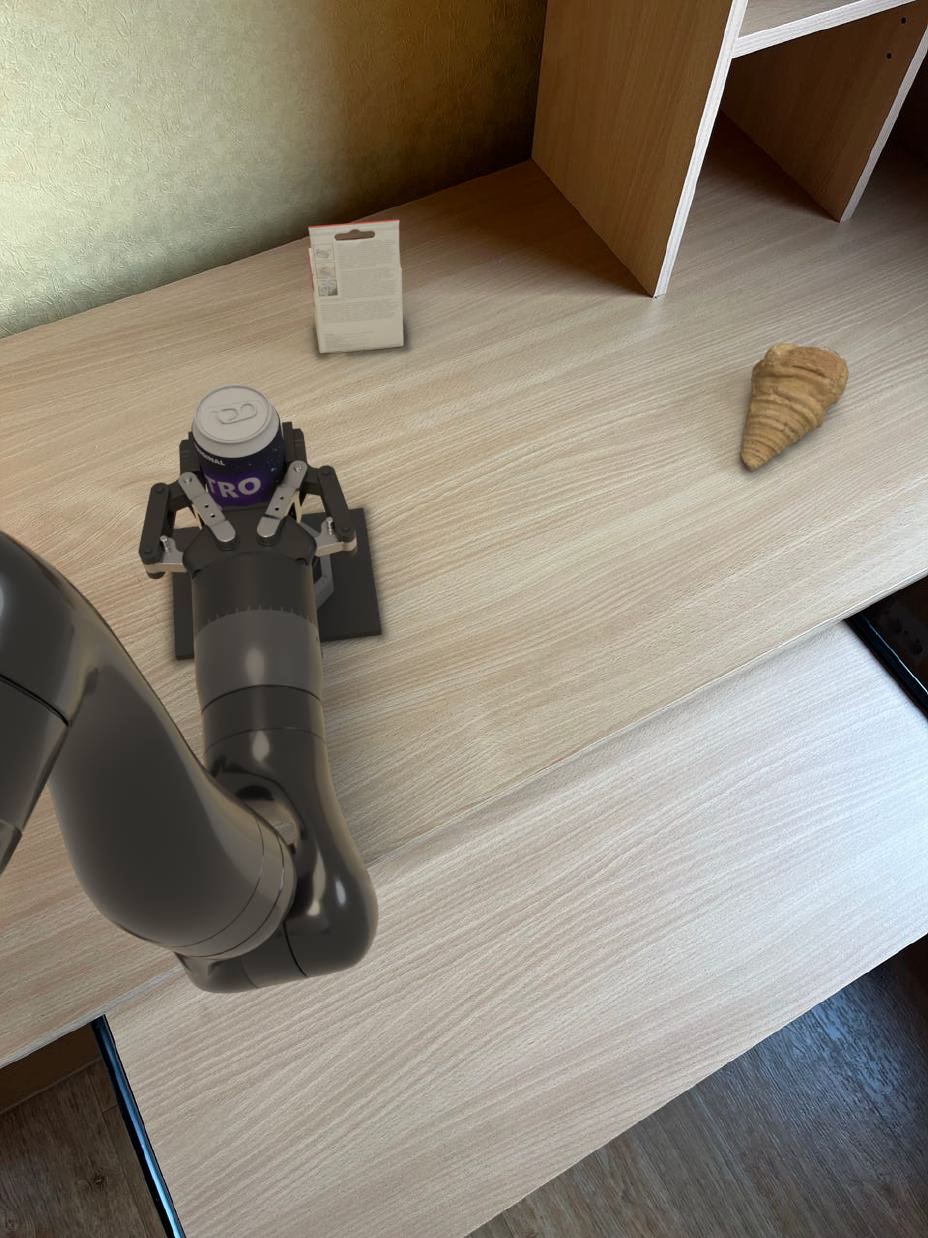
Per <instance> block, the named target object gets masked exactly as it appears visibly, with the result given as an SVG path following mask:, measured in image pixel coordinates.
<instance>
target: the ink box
mask: <svg viewBox="0 0 928 1238" xmlns="http://www.w3.org/2000/svg"><path fill="white" fill-rule="evenodd" d="M307 229H308V234H309V240H310V247H308V252H307V253H308V263H309V264H308V265H309V275H310V282H311V294H312V302H313V311H314V321H315V330H316V338H317V344H318V351H319V354H322V355H323V354H339V353H349V352H350V353H351V352H359V351H361V352H362V351H372V350H382V349H392V348H397V347H398V348H399V347H400V348H401V347H404V342H405V341H404V313H403V311H404V305H403V303H404V301H403V267H402V262H401V253H400V252H401V251H400V219H388V220H387V219H386V220H374V221H362V222H350V223H349V222H348V223H335V224H324V225H312V226H311V225H310V226H308V227H307ZM353 230H357V231H358V232H360V233H363V232H364V233H365V232H373V233H374V234H373V235H369V236H360V237H346V238H335V236H336V235H339V234H341V235H342V234H349V233H350V232H351V231H353Z"/></svg>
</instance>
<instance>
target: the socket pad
mask: <svg viewBox="0 0 928 1238" xmlns="http://www.w3.org/2000/svg"><path fill="white" fill-rule="evenodd" d="M348 509H349V511H350V514H351V517H352V520H353V523H354V525H355V531H356V542H357V553H356V554H355V555H354V556H352V557H343V556H342V555H341V554H340V553H339V552H335V553H331V554H327V555H324V556H320V557H318V560H317V563H316V564H315V566H314V569H313V583H314V593H315V602H316V611H317V620H318V630H319V639H320V643H325V642H332V641H340V640H348V639H356V638H357V639H358V638H365V637H373V636H380V635H382V625H381V618H380V612H379V606H378V598H377V591H376V585H375V578H374V570H373V565H372V564H373V563H372V556H371V551H370V550H371V549H370V543H369V538H368V537H369V536H368V530H367V522H366V517H365V516H366V515H365V509H364V507H357V508H348ZM326 518H327V515H326V512H325V511H322V512H313V513H305V514H303V513H302V516H301V520H300V523H299V524H300V525H301V526H302V527H303V528H304V529H305V530H307V531H308V532H309V533H310V534H311V535H312V536H313V537H314V538H315V537H317V536H319V535H320V533H321V524H322V523H323V522H324V521H325V520H326ZM199 531H200V528H199V525H197V526H189V527H180V528H174V529H173V535H172V539H173V540H174V541H175V543H176V546H177V549H178V551H180V552H184V551H185V549H186V548H187V546H188V545H189V544H190V543H191V541H192V540H193V539H194V538H195V536H196V535H197V534H198V532H199ZM171 575H172V576H171V578H172V579H171V580H172V603H173V607H172V608H173V626H174V627H173V631H174V656H175V658H176V660H177V661H182V660H189V659H190V660H191V659H195V657H194V632H193V606H192V582H191V580H190V578H189V577H188V576H187V574H186V572H171Z"/></svg>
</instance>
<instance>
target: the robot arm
mask: <svg viewBox="0 0 928 1238" xmlns="http://www.w3.org/2000/svg"><path fill="white" fill-rule="evenodd" d="M281 428H282V434H283V440H284V446H285V461H286V467H287V472H286V474H285V477H284V479H283V481H282V483H281V484H278V486H277V488H276V490H275V492H274V495H273V497H272V499H271V501H269V502H259V503H255V504H252V505H249V506H235V505H232V506H223V507H221V508H222V510H220V509H219V507H218V506H217V504H216V503H215V501H214V500H213V498H212V497H211V495H210V494H209V492H208V491H207V486H206V482H205V479H204V475H203V472H202V468H201V465H200V461H199V458H198V454H197V451H196V447H195V444H194V440H193V437H192V430H190V431H187V437H188V439H187V438H186V439H181V441H180V443H179V444H178V453H179V455H178V457H179V476H178V478H176V480H175V481H173V482H171V483H165V482H161V481H159V482H156V483H153V485H152V486H151V487H150V491H149V495H148V501H147V505H146V511H145V516H144V521H143V526H142V530H141V535H140V540H139V546H138V552H137V553H138V556H139V558H140V560H141V564H142V565H143V566H142V567H143V568H144V571H145V572H146V575H147V577H148V578H150V579H151V580H159V579H162V578H163V577H164V576H165V575H166V573H172V572H186V574H187V576H188V577H189V578H190V580H191V582H192V606H193V632H194V657H195V658H194V677H195V687H196V693H197V699H198V702H199V708H200V718H201V738H202V760H203V761H202V762H201V761H200V759H199V758H198V756H197V755H196V754H195V753H194V750H193V749H192V747H191V746H190V745H189V742H188V741H187V739H186V738H185V737H184V735H183V733H182V732H181V730H180V728H179V727H178V725H177V723H176V722H175V721H174V719H173V718H172V716H171V714H170V713H169V711H168V710H167V708H166V706H165V705H164V703H163V702H162V700H161V698H160V697H159V695H158V693H156V691H155V690H154V688H153V687H152V686H151V684H150V682H149V681H148V679H147V678H146V677H145V675H144V674H143V672H142V671H141V670H140V668H139V666H138V665H137V664H136V662H135V661H134V659H133V658H132V656H131V655H130V653H129V652H128V651H127V649H126V648H125V646H124V644H123V643H122V641H121V640H120V638H119V637H118V636H117V634H116V633H115V632H114V630H113V629H112V627H111V626H110V624H109V622H107V620H106V619H105V618H104V616H103V615H102V614H101V613H100V611H99V610H98V609H97V608H96V607H95V605H94V604H93V603H92V601H90V600H89V599H88V598H87V596H85V594H83V592H82V591H81V590H80V589H79V588H78V587H77V585H75V584H74V583H73V581H71V580H70V579H69V578H68V577H67V576H66V575H65V574H63V573H62V572H61V570H59V568H57V567H56V566H55V565H54V564H52V562H50V561H48V560H47V559H46V558H45V557H43V556H42V555H41V554H40V553H38V552H37V551H35V550H34V548H32V547H30V546H28V545H27V544H25V543H24V542H22V541H20V540H19V539H17V538H15V537H14V536H12V535H11V534H9V533H7V532H6V531H4V530H2V529H0V878H1V877H2V875H3V874H4V872H5V871H6V869H7V867H8V865H9V863H10V862H11V860H12V857H13V855H14V854H15V852H16V850H17V848H18V846H19V843H20V842H21V840H22V837H23V835H24V834H23V833H24V832H25V831H26V828H27V826H28V824H29V821H30V820H31V817H32V815H33V813H34V811H35V809H36V807H37V805H38V802H39V800H40V798H41V796H42V794H43V791H44V790H45V788H46V786H47V788H48V792H49V795H50V798H51V801H52V805H53V809H54V812H55V816H56V819H57V823H58V826H59V830H60V832H61V836H62V840H63V842H64V846H65V849H66V854H67V857H68V859H69V863H70V865H71V867H72V870H73V871H74V873H75V876H76V878H77V880H78V882H79V884H80V886H81V888H82V890H83V891H84V893H85V895H86V897H88V898H89V900H90V901H91V903H92V904H93V905H94V906H95V908H96V909H97V910H98V912H99V913H100V914H102V916H103V917H105V919H107V920H108V921H109V922H110V923H112V925H114V926H116V927H117V928H118V929H119V930H121V931H123V932H125V933H126V934H128V935H130V936H132V937H135V938H137V939H139V940H142V941H144V942H147V943H149V944H152V945H155V946H157V947H160V948H163V949H164V950H165V949H166V950H168V951H171V952H172V953H173V955H174V956H175V957H176V959H177V961H178V962H179V963H180V965H181V966H182V968H183V970H184V972H185V974H186V976H187V977H188V979H189V981H190V982H191V983H192V984H193V986H195V987H196V988H197V989H198V990H201V991H203V992H207V993H212V994H220V995H221V994H225V995H226V994H227V995H228V994H240V993H246V992H251V991H256V990H260V989H263V988H270V987H273V986H274V987H275V986H279V985H283V984H288V983H293V982H297V981H302V980H308V979H310V978H318V977H323V976H326V975H331V974H335V973H336V974H337V973H341V972H344V971H347V970H349V969H353V967H356V966H357V965H358V964H359V963H361V962H362V961H363V960H364V959H365V957H367V955H368V953H369V951H370V950H371V948H372V946H373V943H374V941H375V938H376V936H377V932H378V925H379V919H380V918H379V916H380V914H379V913H380V912H379V902H378V898H377V897H378V896H377V893H376V890H375V888H374V885H373V881H372V878H371V876H370V874H369V871H368V869H367V867H366V865H365V862H364V860H363V858H362V856H361V853H360V851H359V849H358V847H357V845H356V843H355V840H354V838H353V836H352V833H351V832H350V829H349V826H348V824H347V822H346V819H345V816H344V813H343V810H342V808H341V804H340V802H339V799H338V798H339V797H338V795H337V791H336V789H335V784H334V781H333V777H332V772H331V768H330V762H329V754H328V744H327V736H326V726H325V717H324V707H323V688H324V687H323V685H324V668H323V667H324V666H323V658H324V657H323V654H324V653H323V649H322V646H321V645H322V644H321V642H320V639H319V630H318V620H317V611H316V602H315V593H314V583H313V569H314V566H315V564H316V563H317V560H318V557H320V556H324V555H327V554H331V553H335V552H339V553H340V554H341V555H342V556H343V557H352V556H354V555H355V554H356V553H357V542H356V531H355V525H354V523H353V520H352V517H351V514H350V511H349V509H350V508H349V505H348V503H347V500H346V497H345V495H344V492H343V489H342V486H341V484H340V481H339V477H338V475H337V472H336V469H335V468H334V467H333V466H331V465H327V464H326V465H325V464H324V465H322V466H320V467H319V468H318V467H313V466H311V465H310V464H309V463H308V456H307V448H306V440H305V434H304V432H303V431H302V429H301V427H299V428H294V426H293V421H282V422H281ZM309 495H312V496H316V497H317V496H318V497H320V500H321V503H322V505H323V509H324V512H326V515H327V518H326V520H325V521H324V522H323V523H322V524H321V533H320V535H319V536H317V537H315V538H314V537H313V536H312V535H311V534H310V533H309V532H308V531H307V530H305V529H304V528H303V527H302V526H301V525H300V524H299V523H300V520H301V516H302V515H303V509H304V507H305V505H306V502H307V500H308V498H309ZM186 508H187V509H188V511H189V512H190V514H191V515H192V517H193V518H194V520H195V522H196V523H197V526H199V528H200V531H199V532H198V534H197V535H196V536H195V538H194V539H193V540H192V541H191V543H190V544H189V545H188V546H187V548H186V549H185V551H184V552H180V551H178V549H177V546H176V543H175V541H174V540H173V539H172V535H173V529H175V524H176V523H175V522H176V517H177V512H179V511H181V510H183V509H186ZM271 822H277V823H286V824H287V823H288V824H293V828H294V831H295V841H293V842H290V843H288V842H287V841H286V839H285V838H284V837H283V835H282V834H281V833H280V831H279V830H278V829H277V828H276V827H275V826H274V825H273V824H272V823H271Z"/></svg>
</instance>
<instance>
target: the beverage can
mask: <svg viewBox="0 0 928 1238" xmlns="http://www.w3.org/2000/svg"><path fill="white" fill-rule="evenodd" d="M192 419H193V420H192V423H191V431H192V437H193V440H194V444H195V447H196V451H197V454H198V458H199V461H200V465H201V468H202V472H203V475H204V479H205V482H206V491H207V492H209V494H210V495H211V497H212V498H213V500H214V501H215V503H216V504H217V506H218V507H219V509H220V510H222V508H221V507H223V506H232V505H235V506H249V505H252V504H255V503H259V502H269V501H271V499H272V497H273V495H274V492H275V490H276V488H277V486H278V484H281V483H282V481H283V479H284V477H285V474H286V472H287V467H286V461H285V446H284V440H283V431H282V422H281V418H280V415H279V412H278V411H277V409H276V408H275V406H274V405H273V404H271V402H270V399H269V398H268V397H267V395H266V394H264V393H263V391H261V390H259V389H258V388H257V387H256V388H255V387H254V386H251V385H247V384H241V383H232V384H231V383H230V384H225V385H220V386H218V387H215V388H213V389H212V390H210V391H208V392H207V393H205V394H204V395H203V396H202V397H201V398H200V399H199V401H198V402H197V403H196V406H195V409H194V413H193V418H192Z"/></svg>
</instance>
